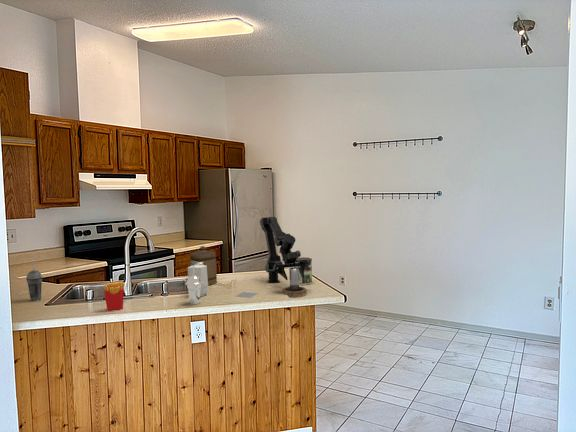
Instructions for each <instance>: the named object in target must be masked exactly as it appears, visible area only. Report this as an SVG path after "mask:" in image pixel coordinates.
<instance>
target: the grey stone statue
mask: <svg viewBox="0 0 576 432" xmlns="http://www.w3.org/2000/svg"><path fill="white" fill-rule="evenodd" d="M203 263H204V262H201V263H198V264H195V265H193V275H192V276H190V277H189V278H188V277H187V280H186V281H185V285H186V287H187V291H188V297H189V304H190V303H191V304H190V305H198V304H200V299H201V297H200V291H201V284H203V281H201V279H200V277H199V276H196V275H195V274H194V266H196V265H199V264H203Z"/></svg>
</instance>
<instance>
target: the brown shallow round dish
mask: <svg viewBox="0 0 576 432" xmlns="http://www.w3.org/2000/svg"><path fill="white" fill-rule="evenodd" d="M282 294H284V295H286V296H287V297H288V298H302V297H305V296H307V294H308V292H307V289H306V288H305V287H303V286H299V291H296V292H291V291H290V286H286V287H284V288H282Z"/></svg>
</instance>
